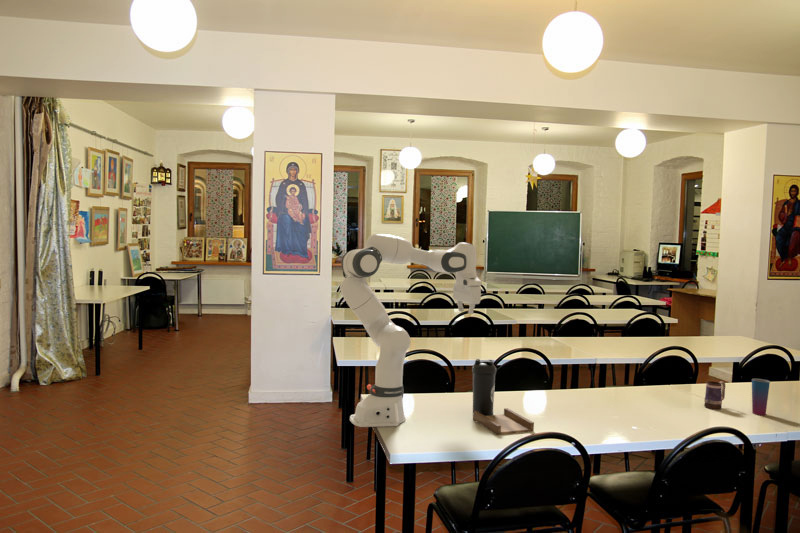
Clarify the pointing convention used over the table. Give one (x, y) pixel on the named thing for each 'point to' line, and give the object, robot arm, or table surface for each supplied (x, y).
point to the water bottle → (483, 386)
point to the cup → (759, 396)
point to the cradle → (504, 422)
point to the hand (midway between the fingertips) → (465, 312)
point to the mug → (714, 394)
